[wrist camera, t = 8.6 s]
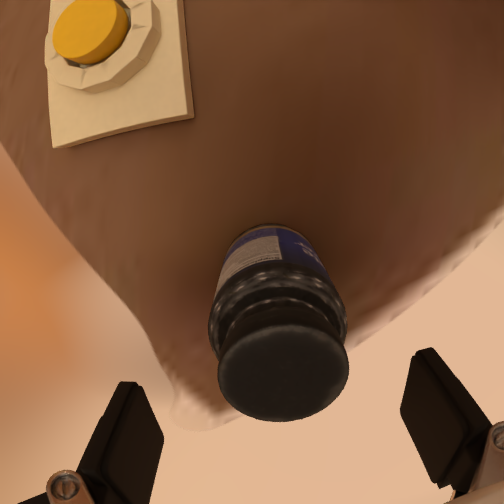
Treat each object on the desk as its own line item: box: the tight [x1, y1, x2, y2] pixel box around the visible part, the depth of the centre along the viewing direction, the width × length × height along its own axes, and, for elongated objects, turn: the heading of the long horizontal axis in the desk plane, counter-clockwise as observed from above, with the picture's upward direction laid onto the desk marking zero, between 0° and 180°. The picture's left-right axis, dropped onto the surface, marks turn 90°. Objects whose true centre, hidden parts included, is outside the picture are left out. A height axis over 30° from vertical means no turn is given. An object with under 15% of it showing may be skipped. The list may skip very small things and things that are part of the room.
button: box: [52, 0, 128, 64], centre depth 12 cm, size 4×4×2 cm
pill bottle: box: [208, 224, 349, 422], centre depth 16 cm, size 6×6×11 cm
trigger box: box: [45, 0, 194, 148], centre depth 14 cm, size 12×9×4 cm
